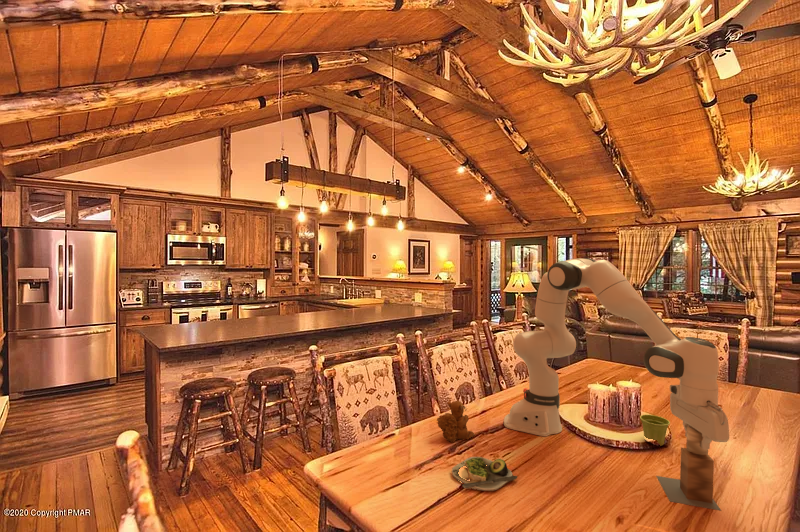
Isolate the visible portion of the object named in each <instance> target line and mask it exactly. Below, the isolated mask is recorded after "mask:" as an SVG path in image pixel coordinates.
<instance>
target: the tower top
mask: <svg viewBox="0 0 800 532" xmlns="http://www.w3.org/2000/svg"><path fill="white" fill-rule="evenodd" d="M714 462H715V460H714V459H713V458H712V457H711V456H710V455H709V453H708V454H707V455H700V454H695V453H693V452H690V451H688V450H687V449H686V447H680V468H681V469H682V470H683V472H684V473H685V475H686V476H687V478H691V479H697V480H703V481H709V482H713V483H714V464H715V463H714Z"/></svg>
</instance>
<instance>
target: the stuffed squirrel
mask: <svg viewBox="0 0 800 532" xmlns="http://www.w3.org/2000/svg"><path fill="white" fill-rule="evenodd" d="M446 404H447V406H448V407H449V408H450V412H445V414H442V415H439V417H437V419H436V421H437V422H436V424H437V426H438V427H439V428H440V429H441V431H442V436H443V439H445V440H446V441H449V442H450V443H455V442H454V441H458V439H459V441H464V440H463V439H467V440H469V438H470V439H471V437H472V438H473V437H474V436H475V433H474V432H473V431H472V430H468V427H467V423H468V421H469V418H470V417H469V416H468V415H467V414H465V415H464V411H465V412H467V411H468V409H467V407H466V406H465V405H464V403H462V402H461V401H460V400H454V401H452V402H450V401H447V403H446Z"/></svg>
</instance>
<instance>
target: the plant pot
mask: <svg viewBox="0 0 800 532" xmlns="http://www.w3.org/2000/svg"><path fill="white" fill-rule="evenodd" d="M639 418H640V421H641V424H642V430H643V437H644V436H645V437H646V438H648V439H653V440H657V441H658V443H659V444H660V446H659V447H661V446H662V447H663V446H664V444H665V441H666V435H667V431H668V428H669V426H670V425H671V421H670V420H669V419H667V418H665V417H663V416H658V415H654V414H641V415H640V416H639Z"/></svg>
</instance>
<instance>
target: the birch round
mask: <svg viewBox="0 0 800 532" xmlns="http://www.w3.org/2000/svg"><path fill="white" fill-rule="evenodd" d="M702 440H703V437H702V433H701V432H699V431H698V430H696V429H695V428H693V427H691V426H688V427H687V437H686V442H685V443H686V447H685V448H686V449H687V450H688V451H690V452H693V453H695V454H700V455H707V454H708V455H709V450H704V449H703V448H701V447H700V446H699V445H700V441H702Z"/></svg>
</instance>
